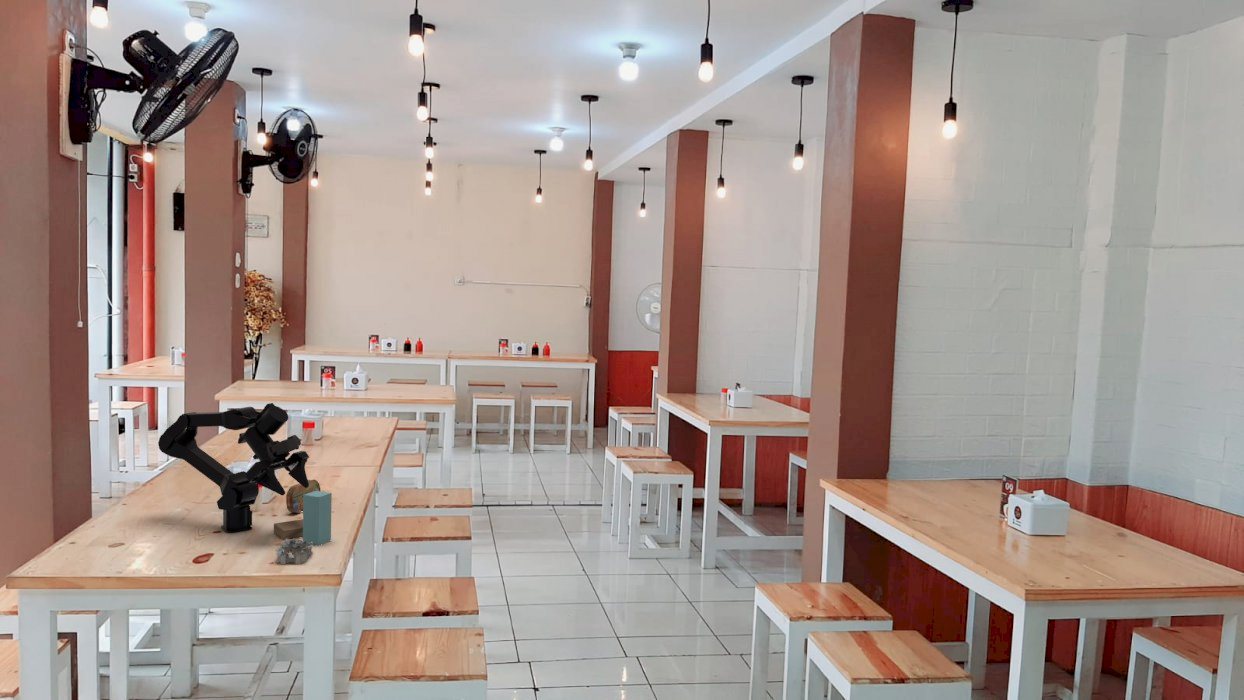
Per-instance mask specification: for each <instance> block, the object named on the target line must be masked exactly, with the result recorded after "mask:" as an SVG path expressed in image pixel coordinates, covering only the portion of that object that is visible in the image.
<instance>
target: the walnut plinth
mask: <svg viewBox="0 0 1244 700" xmlns="http://www.w3.org/2000/svg"><path fill="white" fill-rule="evenodd" d="M273 534H274V535H276V536H277V537H279V538H282V539H281V540H283V541H285V539H286V538H287V539H290V540H294V539H293V538H296V539H300V538H299V537H302V538H303V518H302V519H297V520H296V519H295V520H287V521H283V522H277V523H275V522H274V523H273Z"/></svg>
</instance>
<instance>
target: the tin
mask: <svg viewBox="0 0 1244 700" xmlns="http://www.w3.org/2000/svg"><path fill="white" fill-rule="evenodd" d="M307 480H308V483H309V487H308V488H305V487H304V486H302V485H301V484H300V483H299V482H297V483H296V484H294V485H292V486H290V487H289V488H288V489H287V492H286V494H285V499H286V509H287V510H288V512H290V513H293V514H301V513H300V512H301V511H303V495H304V494H308V493H311V492H314V491H321V485H320V483H319V481H318V480H316V479H307Z"/></svg>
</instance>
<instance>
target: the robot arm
mask: <svg viewBox="0 0 1244 700" xmlns="http://www.w3.org/2000/svg"><path fill="white" fill-rule="evenodd" d="M288 420H289V415H288V412H287V411H286V410H284V409H283V408H281V407H280V406H277V405H275V404H274V403H273V402H271V403H270V402H269V403H267V404H266V405H264V407H263V409H262V410H261V411H259V410H258V411H257V410H256V409H255V407H253V406H246V407H240V408H234V409H229V410H225V411H216V412H215V411H214V412H212V411H211V412H196V411H192V412H187V413H182V414H181V415H179V416H178V418H177V419H176V421H174V422H173V423H172V424H171V425H170V426H169V427H167V428H166V429H165V430H164V432H163V433H162V434H161V435H160V437H159V438H158V443H157V445H158V449H159V451H161V452H162V453H163V454H164V455H167V456H169V457H171V458H174V459H179V460H183V461H185V462H186V463H188V464H189V465H190V466H191V467H192V468H194V469H195V470H197V471H198V472H199V473H201V474H202V475H204V476H205V477H206V478H207V479H208V480H210V481H211V482H213V483H214V484H215V485H217V486H218V487H219V489H220V493H221V496H220V498H219V499H218V500H217V501H216V505H217V509H218V510H222V524H221V526H220V527H221V529H223V530H224V531H225V532H226V533H227V534H229V533H235V532H236V533H237V532H243V531H250V530H253V526H252V525H253V511H252V510H251V505H255V503H256V500H257V498H258V495H259V494H260V488H259V486H261V487H264V488H266V489H268V490H271V491H272V492H274V493H275V494H278V495H280V496H284V495H286V491H285V489H284V487H283V486H282V484H281V482H280V481H279V479H278V477H276V473H275V471H276V470H280V469H285V471H287V472H288V473H287V474H288V475H289V476H290V477H291V478H293V479H294V480H295V481H296V482H297V483H300V484H301V485H302V486H304V487H305V488H308V487H309V483H308V480H309V479H308V476H307V473H306V469H305V467H306V463H307V462H308V459H309V458H310V455H309V454H308V453H307V451H304V450H299V449H300V446H301V444H302V443H301V442H302V441H301V439H300V438H299V437H298V435H296V434H292V435H290V436H288V437H287V439H284V440H281V441H280V440H274V439H273V438H272V437H271V436H272V435H273V436H274V435H275V434H276V433H277V432H278V431H279V430H280V429H281V428H282V427H283V426H284V424H286V423H287V421H288ZM204 427H207V428H208V427H209V428H210V427H222V428H224V429H226V430H231V431H239V430H244V429H246V431H244V432H241V433H239V435H238V439H237V444H240V445H241V444H245V443H246V444H247V445H248V447H249V448H250V449H251V451H252V452H253V453H254V455H253V456H252V458H253V460H259V461H256V462H255V463H254V464H253V465H251V467H250V468H249V469H248V470H247V471H244V470H243V471H239V472H235V473H234V472H233V471H231V470H230V469H229V468H227V467H225V465H223V464H222V463H220V462H219V461H218V460H216V459H215V458H213V456H211V455H210V454H208V453H207V452H205V451H204V450H203V449H202V448H200V447H199V445H198V443H197V439H196V437H197V436H198V428H204ZM294 450H299V451H296V452H293V451H294ZM290 452H293V453H290Z"/></svg>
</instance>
